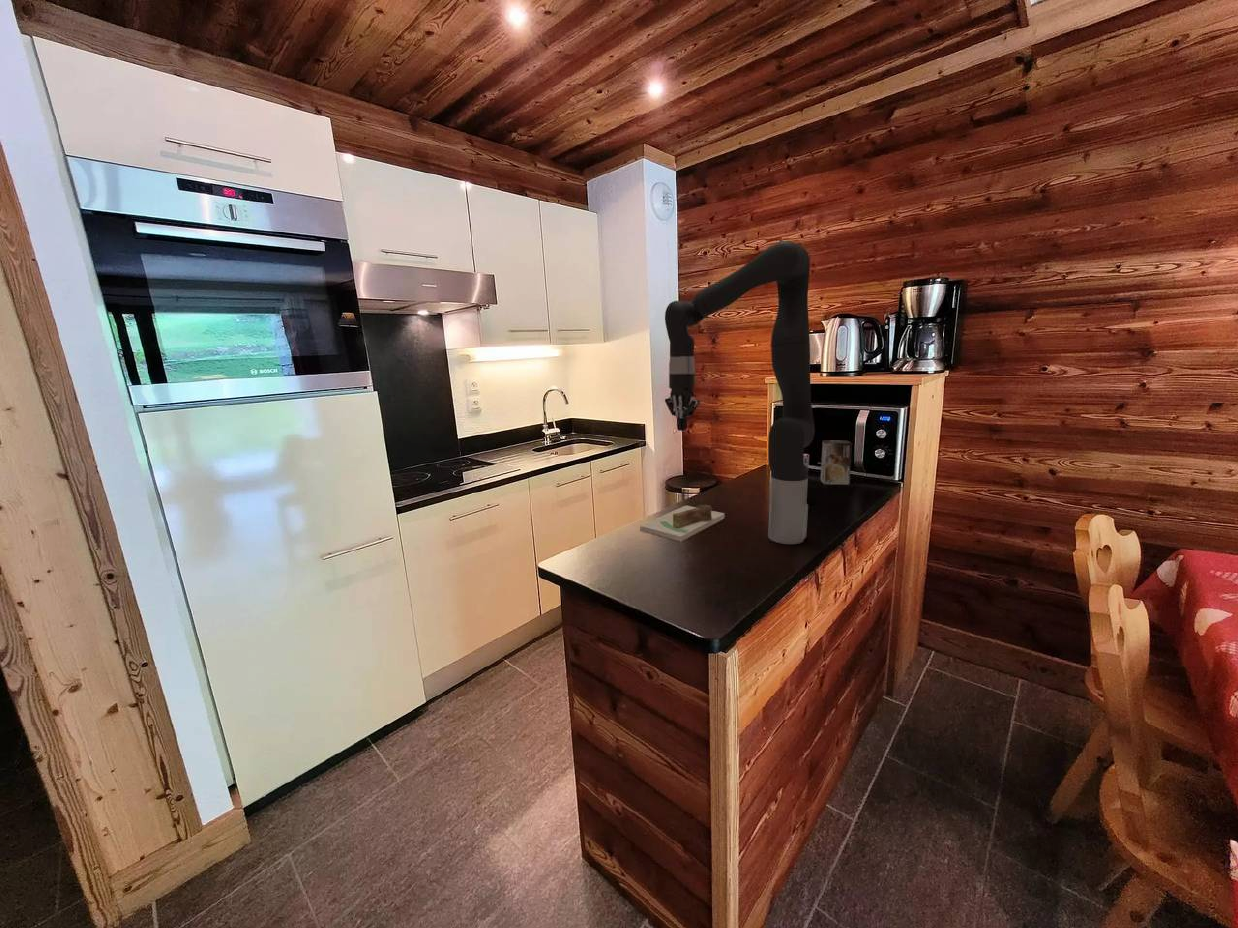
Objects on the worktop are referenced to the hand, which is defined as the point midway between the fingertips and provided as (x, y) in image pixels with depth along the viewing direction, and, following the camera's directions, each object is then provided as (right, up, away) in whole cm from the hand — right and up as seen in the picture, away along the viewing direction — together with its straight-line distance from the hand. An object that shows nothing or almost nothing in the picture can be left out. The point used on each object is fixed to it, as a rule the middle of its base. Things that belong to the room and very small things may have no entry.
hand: (681, 430), depth 145 cm
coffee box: (+64, -18, +38) cm, 76 cm away
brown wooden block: (+2, -27, -6) cm, 28 cm away
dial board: (0, -28, -2) cm, 28 cm away
